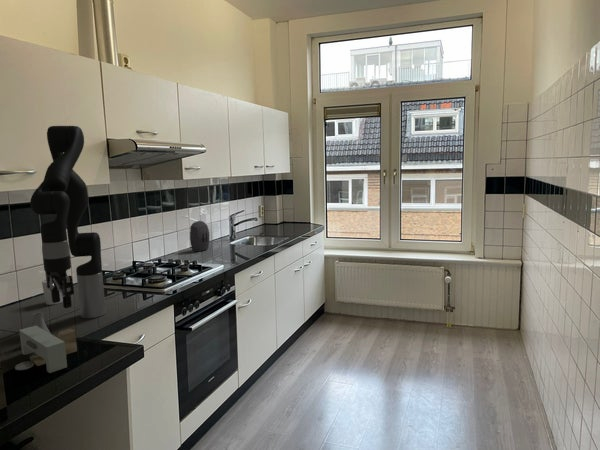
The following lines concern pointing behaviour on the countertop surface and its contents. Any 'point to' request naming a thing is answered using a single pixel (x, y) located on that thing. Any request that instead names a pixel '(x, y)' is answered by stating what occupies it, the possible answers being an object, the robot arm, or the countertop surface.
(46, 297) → the white cup
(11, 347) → the countertop surface
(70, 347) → the brown block
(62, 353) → the low white stool
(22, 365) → the disc
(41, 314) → the flask
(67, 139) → the robot arm
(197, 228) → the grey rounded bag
